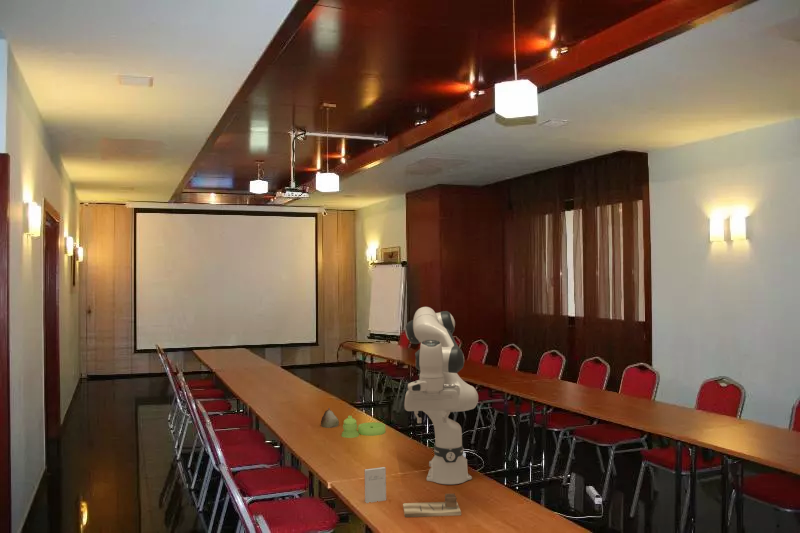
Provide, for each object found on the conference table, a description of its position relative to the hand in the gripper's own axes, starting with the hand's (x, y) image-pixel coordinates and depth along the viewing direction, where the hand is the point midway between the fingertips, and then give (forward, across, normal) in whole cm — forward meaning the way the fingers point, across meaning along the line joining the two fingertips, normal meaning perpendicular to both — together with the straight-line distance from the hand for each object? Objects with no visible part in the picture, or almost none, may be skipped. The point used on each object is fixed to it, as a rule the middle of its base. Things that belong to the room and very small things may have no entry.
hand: (432, 422), depth 242 cm
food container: (+31, +26, -111) cm, 118 cm away
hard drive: (+31, +21, -9) cm, 39 cm away
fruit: (+31, +44, -130) cm, 141 cm away
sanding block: (+30, -6, +3) cm, 31 cm away
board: (+31, +1, +3) cm, 31 cm away
